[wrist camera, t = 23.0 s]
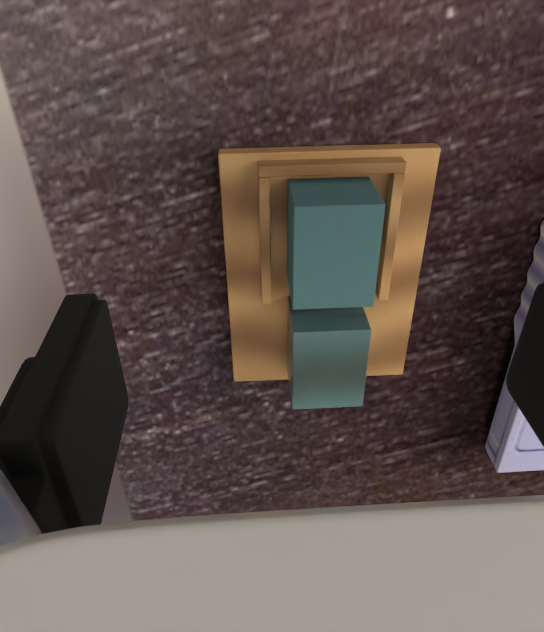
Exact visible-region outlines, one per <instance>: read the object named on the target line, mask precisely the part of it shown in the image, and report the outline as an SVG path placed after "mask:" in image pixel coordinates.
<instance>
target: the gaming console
mask: <svg viewBox="0 0 544 632" xmlns="http://www.w3.org/2000/svg"><path fill="white" fill-rule="evenodd" d="M540 231H541V234H540V238H539V241H538V242H537V244H536V246H535V248H534V260H533V263H532V265H531V266H530V268H529V270H528V272H527V284H526V286H525V288H524V289H523V291H522V293H521V305H520V307H519V309H518V310H517V312H516V314H515V318H514V334H515V346H514V349H513V353H512V356H511V360H510V363H509V366H508V370H509V367H510V364H511V361H512V358H513V355H514V352H515V349H516V346H517V343H518V340H519V337H520V334H521V331H522V328H523V325H524V322H525V319H526V316H527V313H528V310H529V307H530V304H531V301H532V298H533V295H534V292H535V289H536V287H537V286H538V285H539V284H541V283H543V282H544V220H543V222H542V223H541V227H540ZM508 370H507V373H508ZM507 373H506V377H507ZM506 377H505V380H504V383H503V387H502V390H501V394H500V397H499V400H498V404H497V407H496V411H495V414H494V417H493V421H492V424H491V428H490V431H489V435H488V438H487V441H486V450H487V453H488V455H489V457H490V459H491V461H492V463H493V465H494V467H495V469H496V471H497V472H498V473H502V472H518V471H534V470H544V447H543V445H542V444H541V442H540V441H539V439H538V437H537V436H536V434H535V433H534V431H533V429H532V428H531V426H530V425H529V423H528V422H527V420H526V418H525V417H524V415H523V414H522V412H521V410H520V409H519V407H518V406H517V404H516V403H515V401H514V399H513V398H512V396H511V395H510V393H509V391H508V389H507V385H506Z"/></svg>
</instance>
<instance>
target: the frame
mask: <svg viewBox="0 0 544 632" xmlns="http://www.w3.org/2000/svg"><path fill="white" fill-rule="evenodd" d="M440 150H441V148H440V147H439V146H438V145H437V144H436V143H415V144H379V145H342V146H305V147H268V148H231V149H219V151H218V161H219V176H220V190H221V204H222V218H223V233H224V247H225V261H226V275H227V290H228V304H229V318H230V332H231V347H232V361H233V375H234V381H235V382H237V381H260V380H283V379H289V387H290V396H291V404H292V409H311V408H333V407H355V406H363V398H364V390H365V381H366V376H375V375H398V374H403V368H404V362H405V356H406V351H407V345H408V339H409V333H410V327H411V321H412V315H413V309H414V303H415V297H416V292H417V286H418V280H419V274H420V268H421V262H422V256H423V250H424V244H425V238H426V232H427V227H428V221H429V215H430V209H431V203H432V197H433V191H434V185H435V179H436V173H437V167H438V162H439V156H440ZM341 177H369V178H370V180H371V181H372V183H373V185H374V186H375V188H376V190H377V191H378V193H379V195H380V196H381V198H382V200H383V201H384V203H385V212H384V221H383V229H382V238H381V247H380V255H379V264H378V272H377V281H376V289H375V298H374V306H373V307H349V308H323V309H297V310H293V309H292V303H291V296H290V289H289V283H288V276H287V192H288V179H307V178H341Z"/></svg>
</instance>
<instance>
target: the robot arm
mask: <svg viewBox="0 0 544 632" xmlns="http://www.w3.org/2000/svg"><path fill="white" fill-rule="evenodd" d="M506 385H507V389H508V391H509V393H510V395H511V396H512V398H513V399H514V401H515V403H516V404H517V406H518V407H519V409H520V410H521V412H522V414H523V415H524V417H525V418H526V420H527V422H528V423H529V425H530V426H531V428H532V429H533V431H534V433H535V434H536V436H537V437H538V439H539V441H540V442H541V444H542V445H543V447H544V282H543V283H541V284H539V285H538V286H537V287H536V289H535V292H534V295H533V298H532V301H531V304H530V307H529V310H528V313H527V316H526V319H525V322H524V325H523V328H522V331H521V334H520V337H519V340H518V343H517V346H516V349H515V352H514V355H513V358H512V361H511V364H510V367H509V370H508V373H507V377H506ZM127 409H128V394H127V389H126V385H125V380H124V376H123V371H122V367H121V362H120V358H119V354H118V349H117V345H116V340H115V336H114V331H113V327H112V322H111V318H110V313H109V309H108V305H107V302H106V301H105V300H98V298H97V296H96V295H95V294H75V295H66V296H65V298H64V300H63V302H62V304H61V306H60V308H59V310H58V312H57V314H56V316H55V318H54V320H53V322H52V324H51V326H50V328H49V331H48V332H47V334H46V336H45V338H44V340H43V343H42V344H41V346H40V348H39V351H38V353H37V354H36V356H35V357H30V358H28V359H26V360H25V361H24V363H23V364H22V365H21V368H20V369H19V371H18V373H17V375H16V377H15V379H14V381H13V383H12V385H11V387H10V389H9V390H8V393H7V395H6V396H5V398H4V400H3V402H2V404H1V406H0V632H544V495H538V496H519V497H500V498H482V499H464V500H446V501H429V502H411V503H394V504H377V505H360V506H343V507H327V508H311V509H295V510H279V511H263V512H248V513H232V514H216V515H202V516H189V517H176V518H164V519H151V520H138V521H126V522H116V523H108V524H101V521H102V516H103V512H104V508H105V504H106V500H107V495H108V491H109V487H110V483H111V478H112V474H113V470H114V465H115V461H116V457H117V453H118V448H119V444H120V440H121V435H122V431H123V427H124V423H125V418H126V414H127Z"/></svg>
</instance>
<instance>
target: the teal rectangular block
mask: <svg viewBox="0 0 544 632" xmlns="http://www.w3.org/2000/svg"><path fill="white" fill-rule="evenodd" d="M384 212H385V203H384V201H383V200H382V198H381V196H380V195H379V193H378V191H377V190H376V188H375V186H374V185H373V183H372V181H371V180H370V178H369V177H341V178H307V179H288V192H287V276H288V283H289V289H290V296H291V303H292V309H293V310H297V309H323V308H349V307H373V306H374V298H375V289H376V281H377V272H378V264H379V255H380V247H381V238H382V229H383V221H384Z"/></svg>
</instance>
